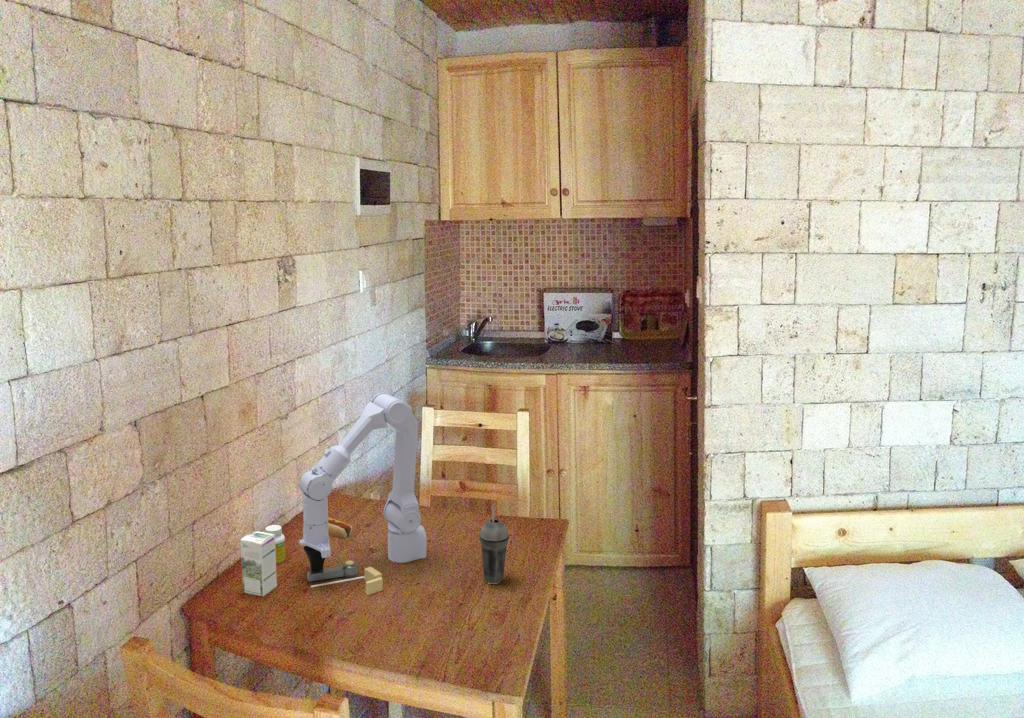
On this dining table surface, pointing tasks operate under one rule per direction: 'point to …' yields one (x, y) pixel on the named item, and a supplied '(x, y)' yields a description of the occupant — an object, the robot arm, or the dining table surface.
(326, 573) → the latch bar
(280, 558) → the supplement bottle
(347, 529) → the food
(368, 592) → the board
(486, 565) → the beverage cup
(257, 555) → the syrup box
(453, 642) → the dining table surface
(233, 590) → the dining table surface
